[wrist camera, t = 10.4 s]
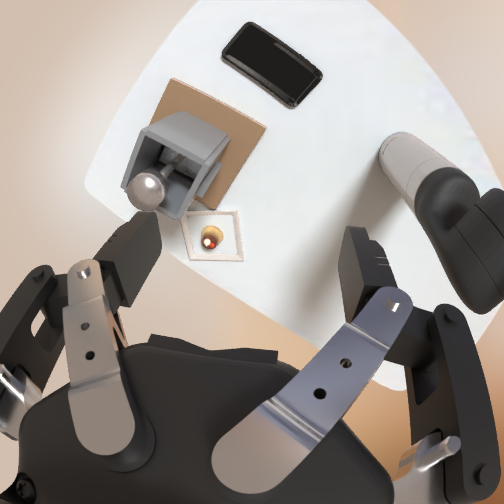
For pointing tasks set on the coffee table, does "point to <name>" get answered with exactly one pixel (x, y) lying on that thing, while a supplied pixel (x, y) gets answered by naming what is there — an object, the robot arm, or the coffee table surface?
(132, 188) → the plunger
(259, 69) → the phone
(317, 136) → the coffee table surface
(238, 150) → the grey square holder
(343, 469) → the robot arm
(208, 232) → the dessert
